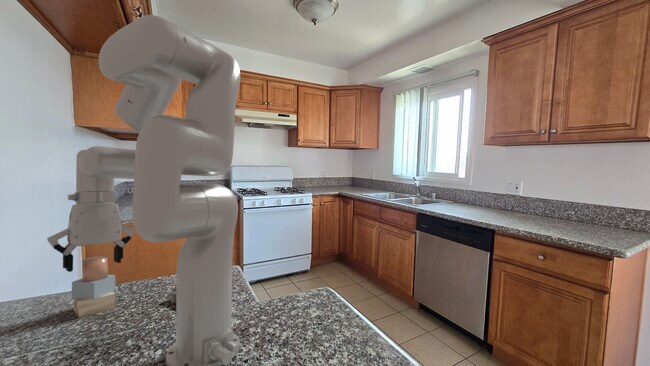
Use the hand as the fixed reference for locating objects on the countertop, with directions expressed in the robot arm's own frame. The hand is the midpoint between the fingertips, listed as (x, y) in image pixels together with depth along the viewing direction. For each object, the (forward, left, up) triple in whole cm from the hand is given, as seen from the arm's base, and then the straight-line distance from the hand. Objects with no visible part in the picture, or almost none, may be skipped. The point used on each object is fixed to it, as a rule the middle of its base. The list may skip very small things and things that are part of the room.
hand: (94, 266), depth 71 cm
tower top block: (0, 0, -7) cm, 7 cm away
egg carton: (-14, -18, -11) cm, 25 cm away
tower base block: (0, 0, -11) cm, 11 cm away
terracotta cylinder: (0, 0, -3) cm, 3 cm away
